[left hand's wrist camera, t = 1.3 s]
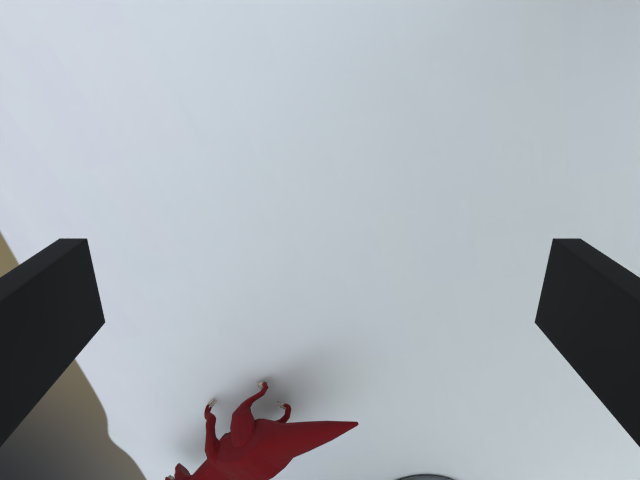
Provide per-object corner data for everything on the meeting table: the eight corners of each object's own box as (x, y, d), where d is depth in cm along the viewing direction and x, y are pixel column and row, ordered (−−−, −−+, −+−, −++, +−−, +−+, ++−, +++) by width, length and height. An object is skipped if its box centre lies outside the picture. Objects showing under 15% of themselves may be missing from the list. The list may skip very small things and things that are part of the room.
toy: (212, 371, 55) (124, 488, 46) (342, 373, 36) (235, 572, 27) (250, 407, 57) (173, 525, 48) (392, 426, 38) (308, 626, 29)
